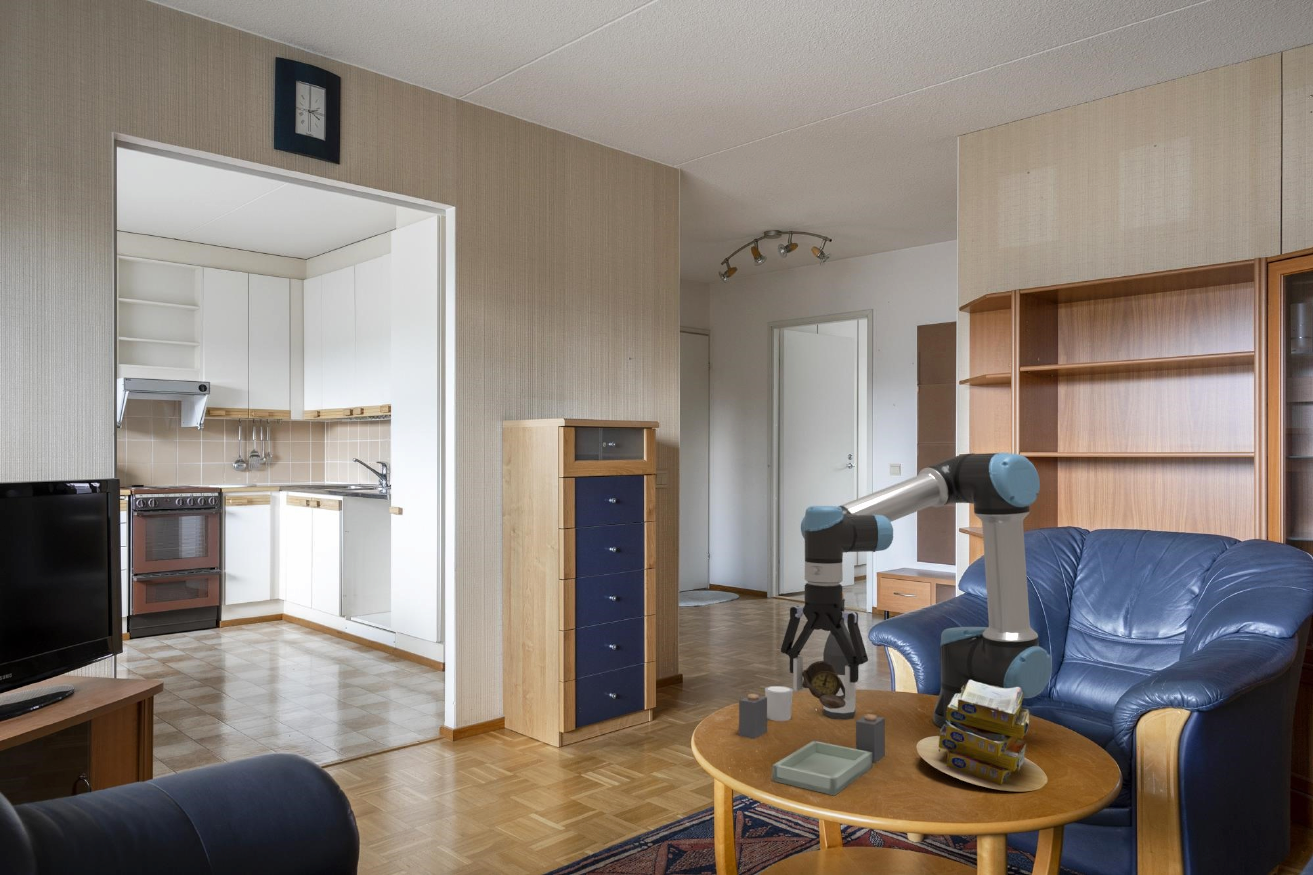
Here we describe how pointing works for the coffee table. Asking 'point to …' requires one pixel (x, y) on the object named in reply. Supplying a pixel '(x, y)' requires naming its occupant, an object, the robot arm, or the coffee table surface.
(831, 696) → the brown alarm clock
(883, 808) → the coffee table surface
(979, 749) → the plate of stacked boxes
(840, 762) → the sage tray
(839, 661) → the wine bottle
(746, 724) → the far-side block
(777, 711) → the light grey cylinder
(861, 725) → the block
